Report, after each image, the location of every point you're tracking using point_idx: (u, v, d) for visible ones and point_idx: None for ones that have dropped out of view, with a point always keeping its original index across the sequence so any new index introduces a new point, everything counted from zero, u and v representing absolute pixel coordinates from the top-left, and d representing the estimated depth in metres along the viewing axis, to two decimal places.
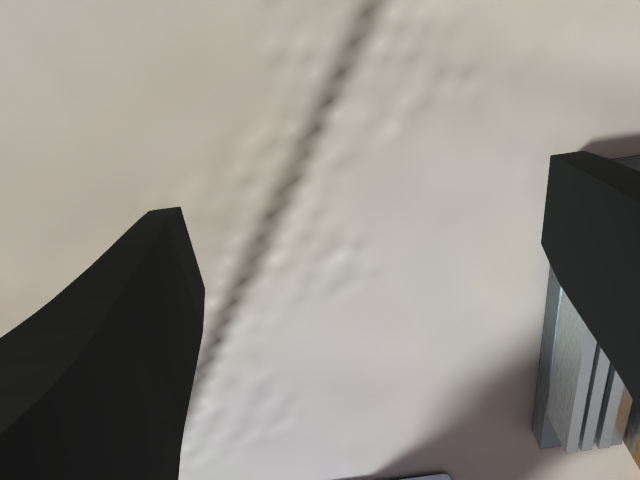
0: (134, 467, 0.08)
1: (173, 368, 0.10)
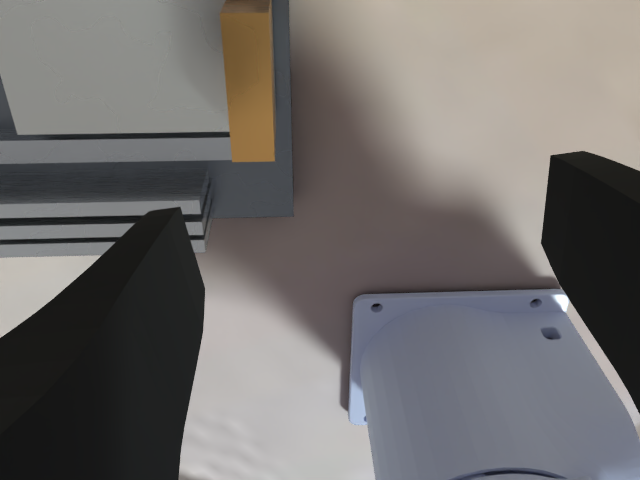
0: (134, 467, 0.08)
1: (173, 368, 0.10)
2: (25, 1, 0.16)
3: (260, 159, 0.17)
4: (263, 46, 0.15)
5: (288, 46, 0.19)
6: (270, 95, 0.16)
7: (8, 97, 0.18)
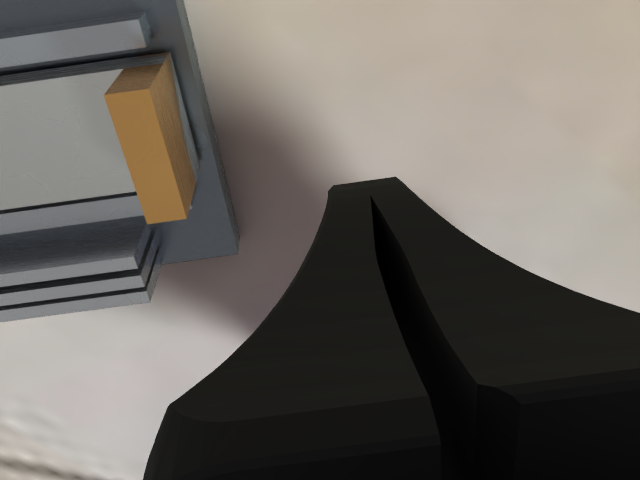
0: None
1: None
2: None
3: (173, 218, 0.17)
4: (151, 118, 0.16)
5: (199, 100, 0.19)
6: (168, 161, 0.16)
7: None
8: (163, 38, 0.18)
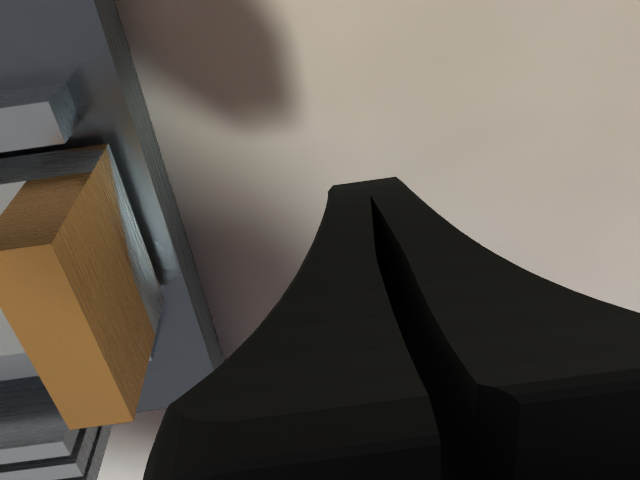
0: None
1: None
2: None
3: (111, 422, 0.11)
4: (60, 288, 0.09)
5: (159, 208, 0.13)
6: (96, 347, 0.10)
7: None
8: (98, 121, 0.11)
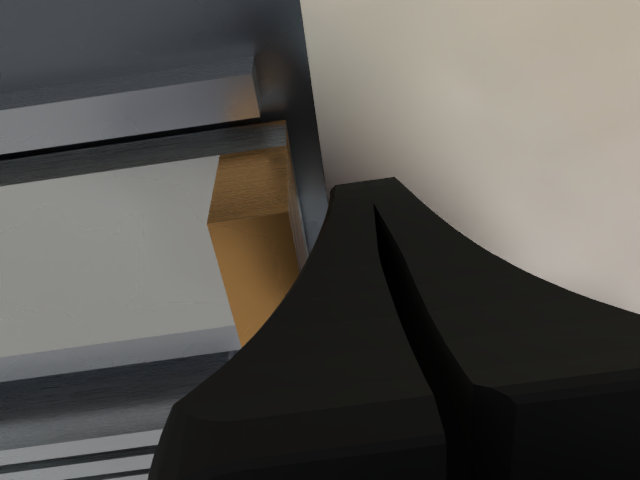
0: None
1: None
2: None
3: None
4: (285, 258, 0.09)
5: (323, 186, 0.13)
6: None
7: None
8: (278, 97, 0.11)
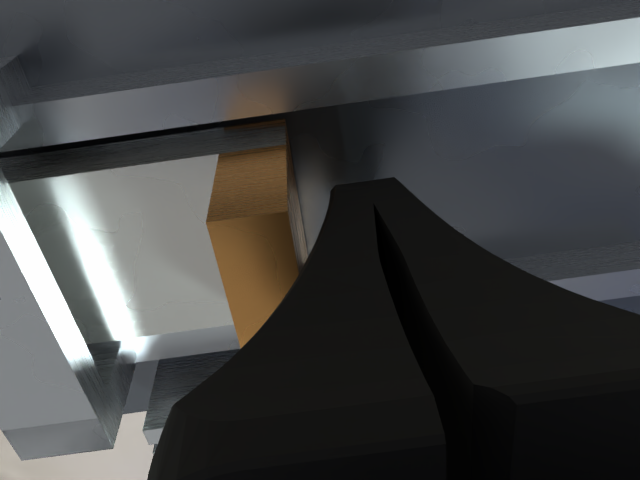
0: None
1: None
2: None
3: None
4: (284, 257, 0.09)
5: None
6: None
7: None
8: None
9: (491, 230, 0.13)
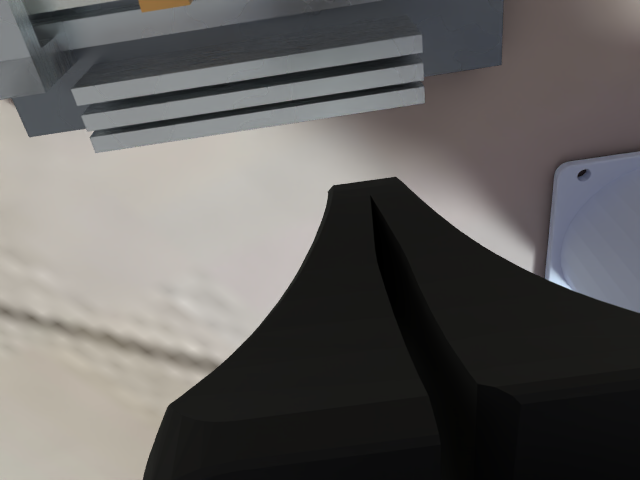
0: None
1: None
2: None
3: (173, 4, 0.14)
4: None
5: None
6: None
7: None
8: None
9: None
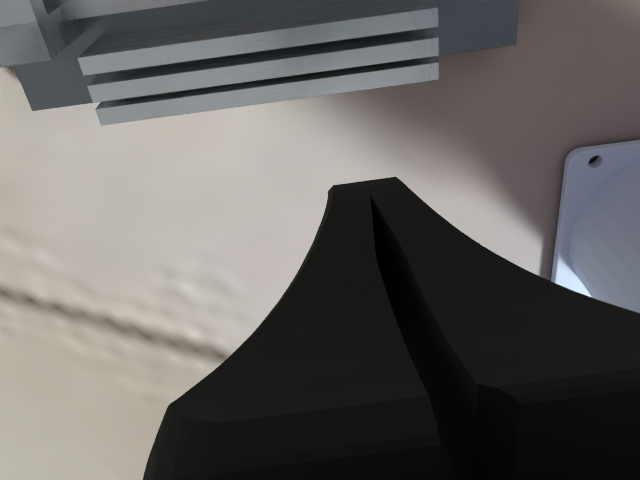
0: None
1: None
2: None
3: None
4: None
5: None
6: None
7: None
8: None
9: None
